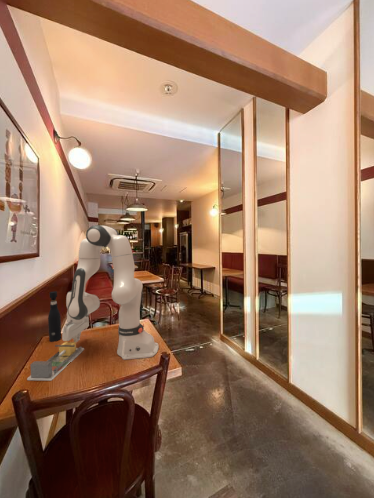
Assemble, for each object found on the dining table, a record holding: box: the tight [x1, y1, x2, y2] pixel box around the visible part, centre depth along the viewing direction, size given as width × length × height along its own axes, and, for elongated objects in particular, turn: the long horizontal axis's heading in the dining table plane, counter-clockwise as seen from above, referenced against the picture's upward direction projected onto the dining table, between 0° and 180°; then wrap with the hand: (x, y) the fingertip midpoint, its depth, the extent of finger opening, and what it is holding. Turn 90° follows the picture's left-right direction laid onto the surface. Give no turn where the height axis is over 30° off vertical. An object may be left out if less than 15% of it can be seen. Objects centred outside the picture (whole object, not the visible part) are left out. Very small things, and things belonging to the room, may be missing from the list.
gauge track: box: [26, 346, 85, 382], centre depth 104 cm, size 11×26×7 cm, turn 177°
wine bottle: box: [47, 290, 62, 343], centre depth 130 cm, size 6×6×30 cm
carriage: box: [54, 341, 77, 357], centre depth 109 cm, size 10×9×5 cm
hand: (76, 341), depth 120 cm, fingers closed
